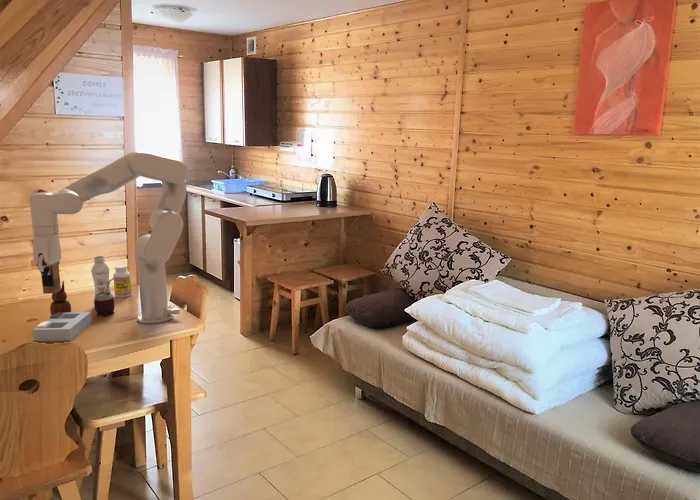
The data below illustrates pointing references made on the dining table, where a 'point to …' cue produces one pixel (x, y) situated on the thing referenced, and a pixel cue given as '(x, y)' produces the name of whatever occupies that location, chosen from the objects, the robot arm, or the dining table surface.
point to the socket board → (62, 326)
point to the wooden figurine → (60, 302)
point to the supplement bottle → (122, 281)
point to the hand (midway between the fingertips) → (51, 283)
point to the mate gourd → (104, 302)
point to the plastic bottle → (100, 275)
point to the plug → (56, 280)
